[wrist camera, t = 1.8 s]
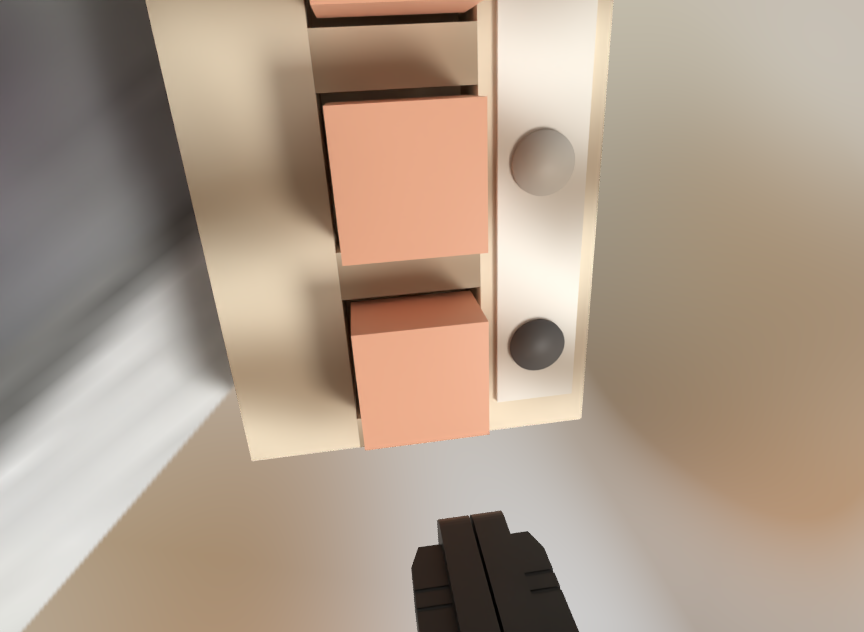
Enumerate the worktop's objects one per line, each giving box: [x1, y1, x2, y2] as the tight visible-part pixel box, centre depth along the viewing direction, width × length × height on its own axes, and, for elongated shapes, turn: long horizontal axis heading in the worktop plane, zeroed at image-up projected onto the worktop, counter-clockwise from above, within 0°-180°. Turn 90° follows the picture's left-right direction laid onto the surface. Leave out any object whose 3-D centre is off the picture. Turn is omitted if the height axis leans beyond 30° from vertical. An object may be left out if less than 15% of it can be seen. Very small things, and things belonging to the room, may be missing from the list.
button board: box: [145, 0, 613, 461], centre depth 20 cm, size 22×14×4 cm, turn 3°
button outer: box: [351, 290, 489, 450], centre depth 20 cm, size 5×5×3 cm
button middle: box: [323, 95, 488, 266], centre depth 17 cm, size 5×5×3 cm
